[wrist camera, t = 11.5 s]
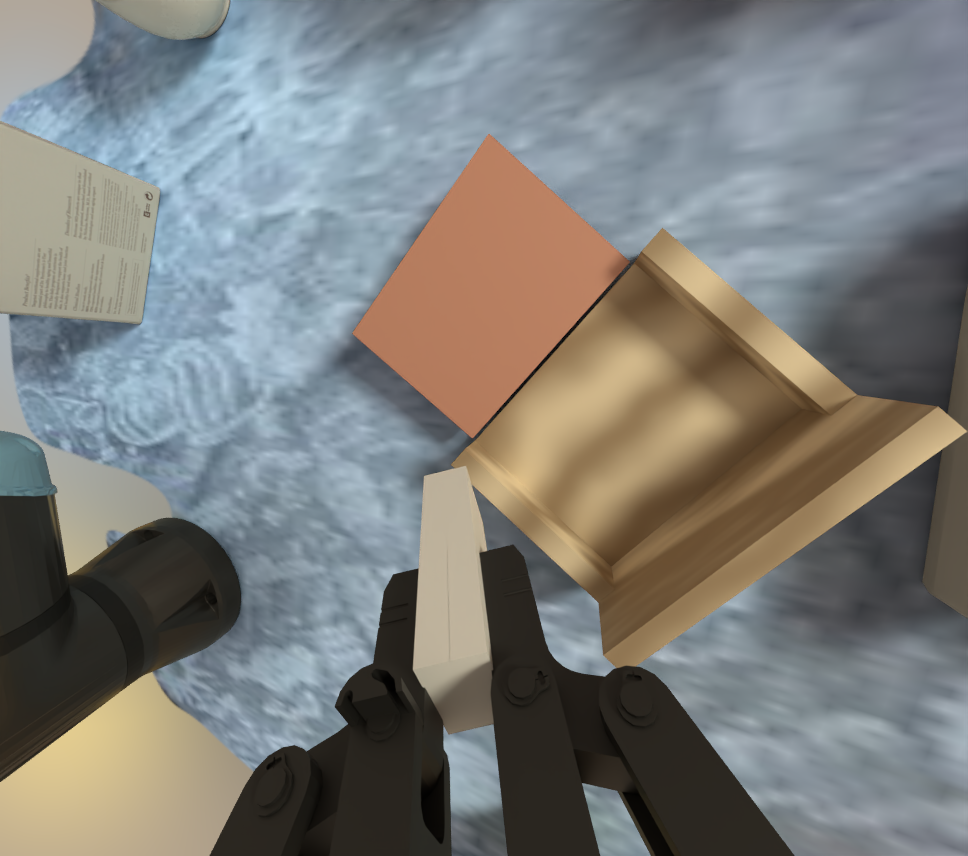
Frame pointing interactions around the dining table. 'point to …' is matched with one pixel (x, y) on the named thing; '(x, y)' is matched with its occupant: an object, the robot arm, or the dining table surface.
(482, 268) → the panel
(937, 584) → the grey compartment organizer
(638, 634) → the tray
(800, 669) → the dining table surface
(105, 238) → the supplement box
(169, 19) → the lidded jar
